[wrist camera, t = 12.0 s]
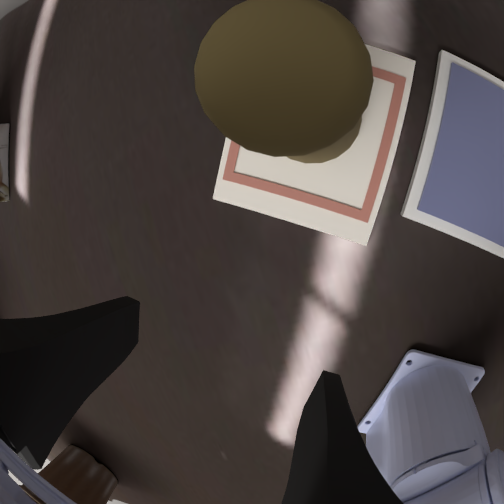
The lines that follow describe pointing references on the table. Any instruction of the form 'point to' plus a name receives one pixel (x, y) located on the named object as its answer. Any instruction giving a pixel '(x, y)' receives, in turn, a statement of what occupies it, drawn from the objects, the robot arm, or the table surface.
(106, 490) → the plant pot
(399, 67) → the marked board
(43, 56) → the table surface
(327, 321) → the table surface
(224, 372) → the table surface
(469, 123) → the ink pad
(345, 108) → the cork
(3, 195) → the coffee box
